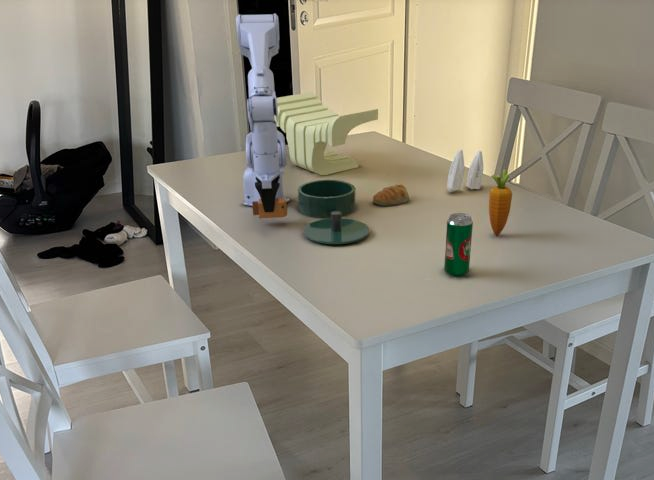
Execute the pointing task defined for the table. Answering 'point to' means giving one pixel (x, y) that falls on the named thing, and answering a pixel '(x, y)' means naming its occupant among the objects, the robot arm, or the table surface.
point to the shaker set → (458, 172)
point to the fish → (278, 212)
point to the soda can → (458, 244)
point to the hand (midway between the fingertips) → (269, 208)
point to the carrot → (499, 203)
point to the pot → (326, 198)
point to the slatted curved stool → (317, 132)
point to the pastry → (391, 195)
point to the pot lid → (336, 230)
